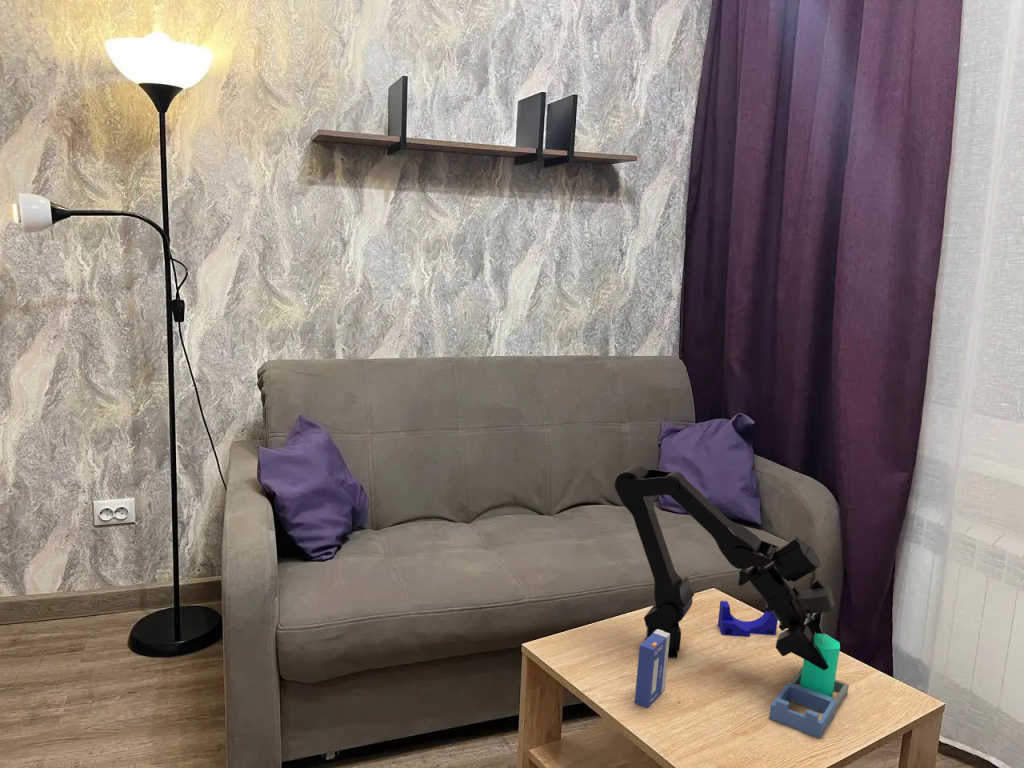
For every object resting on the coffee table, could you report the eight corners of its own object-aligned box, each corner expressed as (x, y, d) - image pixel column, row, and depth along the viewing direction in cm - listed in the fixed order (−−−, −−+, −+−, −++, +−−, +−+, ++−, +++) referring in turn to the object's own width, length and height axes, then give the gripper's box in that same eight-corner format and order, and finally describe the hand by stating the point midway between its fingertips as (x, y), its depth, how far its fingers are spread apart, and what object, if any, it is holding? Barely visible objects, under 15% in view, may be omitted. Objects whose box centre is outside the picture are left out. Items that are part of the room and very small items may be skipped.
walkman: (648, 708, 149) (653, 648, 146) (634, 702, 150) (639, 643, 148) (665, 689, 155) (671, 631, 153) (652, 684, 157) (657, 626, 154)
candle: (817, 703, 152) (825, 644, 149) (792, 686, 157) (800, 628, 154) (839, 696, 154) (848, 638, 152) (815, 679, 160) (823, 623, 157)
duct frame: (819, 739, 142) (822, 718, 141) (768, 719, 147) (771, 699, 146) (847, 693, 157) (850, 674, 156) (800, 676, 162) (802, 658, 161)
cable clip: (721, 635, 177) (724, 610, 176) (717, 625, 182) (720, 600, 180) (777, 639, 177) (780, 614, 176) (771, 629, 181) (775, 604, 180)
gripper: (803, 590, 145) (860, 666, 142) (818, 555, 161) (869, 622, 158) (752, 619, 150) (807, 692, 147) (772, 582, 166) (821, 647, 163)
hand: (828, 661), depth 154 cm, fingers closed on candle, 5 cm apart
